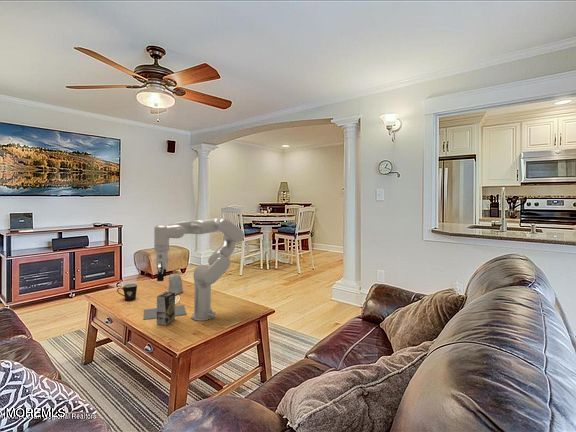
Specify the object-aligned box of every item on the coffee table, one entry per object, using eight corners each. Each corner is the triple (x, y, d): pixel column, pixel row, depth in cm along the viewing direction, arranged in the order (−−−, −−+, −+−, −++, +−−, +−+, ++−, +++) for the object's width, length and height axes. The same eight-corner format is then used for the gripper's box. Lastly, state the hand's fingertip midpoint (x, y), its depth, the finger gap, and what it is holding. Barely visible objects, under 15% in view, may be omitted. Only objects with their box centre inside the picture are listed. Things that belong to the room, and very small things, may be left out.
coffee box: (166, 325, 174) (166, 297, 173) (156, 324, 176) (156, 296, 175) (175, 319, 183) (175, 292, 182) (165, 317, 185) (165, 291, 183)
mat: (186, 314, 190) (186, 314, 190) (143, 320, 181) (143, 319, 181) (184, 305, 205) (184, 305, 205) (143, 310, 195) (143, 309, 195)
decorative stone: (178, 291, 234) (178, 271, 233) (184, 292, 232) (184, 272, 230) (167, 295, 224) (167, 274, 223) (173, 296, 222) (173, 276, 221)
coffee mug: (139, 297, 217) (139, 283, 216) (132, 302, 208) (132, 287, 208) (124, 296, 218) (124, 282, 217) (116, 301, 209) (116, 286, 209)
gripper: (166, 250, 162) (166, 282, 163) (171, 245, 179) (171, 274, 180) (151, 250, 160) (151, 283, 162) (157, 245, 177) (157, 274, 178)
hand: (161, 278), depth 171 cm, fingers open, 9 cm apart
